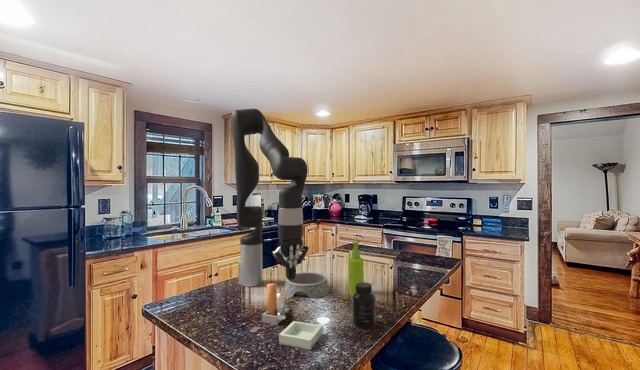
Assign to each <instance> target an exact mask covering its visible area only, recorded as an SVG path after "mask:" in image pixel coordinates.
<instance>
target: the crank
mask: <svg viewBox="0 0 640 370" xmlns="http://www.w3.org/2000/svg"><path fill="white" fill-rule="evenodd" d="M285 305H286V294H285V293H284V291H279V292H277V318H278V320H281V319H283V320H286V314H285Z"/></svg>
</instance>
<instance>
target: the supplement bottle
mask: <svg viewBox="0 0 640 370" xmlns="http://www.w3.org/2000/svg"><path fill="white" fill-rule="evenodd" d="M372 288H373V287H372V284H371V283H370V282H365V281H364V282H360V283H357V284H356V292H355V293H354V294H353V295H352V324H353V325H354V326H355V327H356V328H359V329H363V330H365V329H372V328H373V327H375V325H376V297H375V294H374V293H372V292H373V289H372Z"/></svg>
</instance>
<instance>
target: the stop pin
mask: <svg viewBox="0 0 640 370" xmlns="http://www.w3.org/2000/svg"><path fill="white" fill-rule="evenodd" d="M277 293H278V292H277V283H275V282H274V283H273V282H272V283H271V282H270V283H267V284H266V311H267V315H273V316H277Z"/></svg>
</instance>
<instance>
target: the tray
mask: <svg viewBox="0 0 640 370" xmlns="http://www.w3.org/2000/svg"><path fill="white" fill-rule="evenodd" d="M323 329H324V328H323V325H322V324H314V323H308V322H303V321H297V320H293V321H292V322H291V323H290V324H289V325H288V326H286V328H284V329H283V330H282V331H281V332H280V333H279V334H278V344H279V345H282V346H288V347H293V348H296V349H301V350H305V351H306V350H307V351H311V350H312V349H313V348H314V346H315V345H316V343H318V341H319V340H320V338H321V337H322V336H323V335H324V334H323V331H324V330H323Z"/></svg>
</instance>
